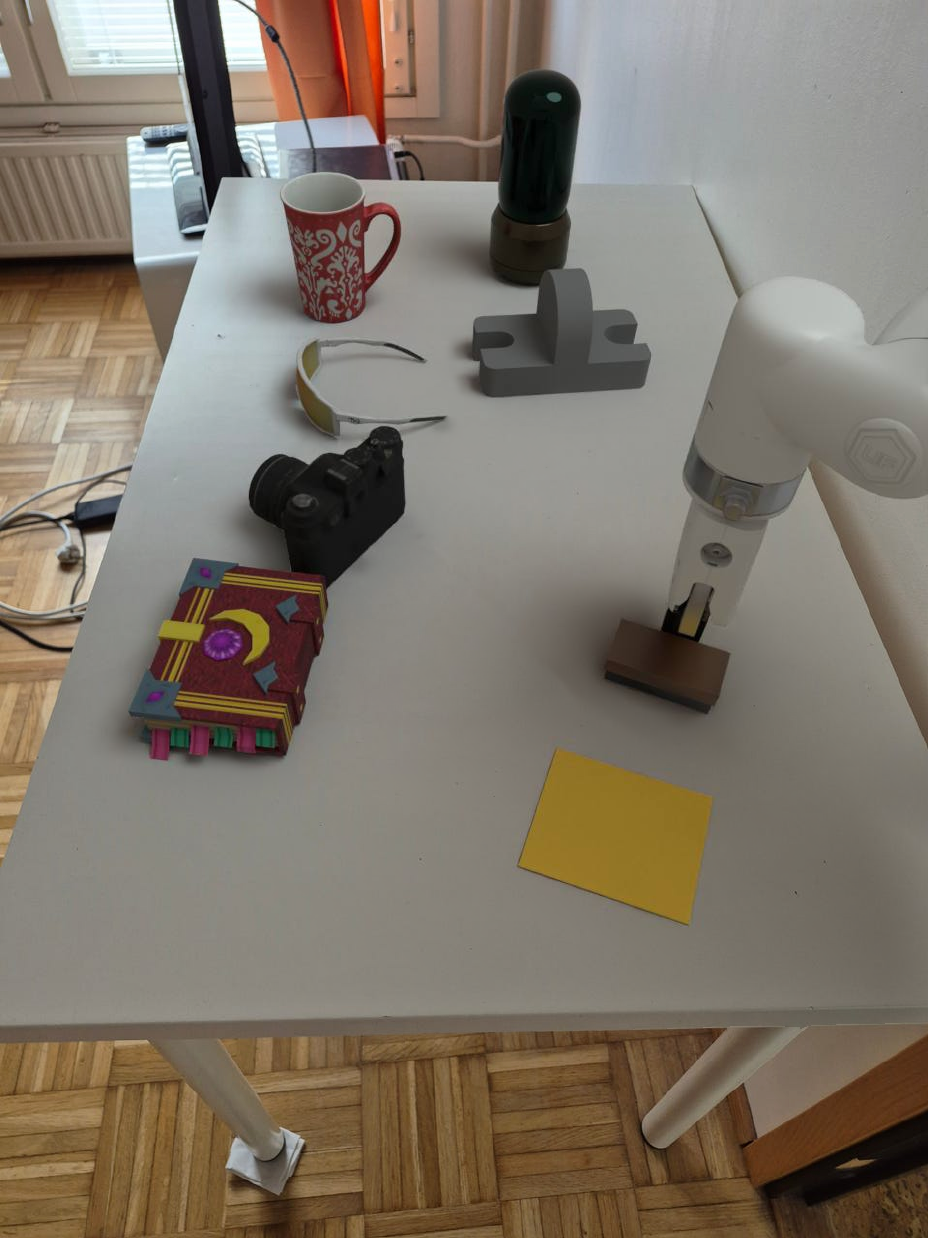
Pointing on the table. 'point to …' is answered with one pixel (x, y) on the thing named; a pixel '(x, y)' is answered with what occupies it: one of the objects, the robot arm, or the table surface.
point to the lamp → (535, 176)
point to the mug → (333, 242)
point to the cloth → (619, 835)
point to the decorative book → (232, 660)
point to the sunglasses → (325, 412)
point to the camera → (333, 502)
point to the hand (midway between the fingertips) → (680, 633)
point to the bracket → (559, 344)
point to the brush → (666, 666)
